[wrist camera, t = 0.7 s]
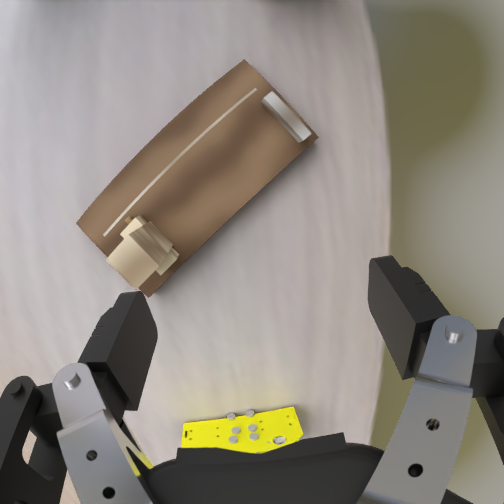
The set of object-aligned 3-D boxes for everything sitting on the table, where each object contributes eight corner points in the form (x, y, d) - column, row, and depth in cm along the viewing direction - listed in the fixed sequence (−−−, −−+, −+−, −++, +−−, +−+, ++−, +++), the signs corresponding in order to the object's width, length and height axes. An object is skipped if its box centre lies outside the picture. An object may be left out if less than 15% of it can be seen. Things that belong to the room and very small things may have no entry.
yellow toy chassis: (292, 400, 43) (305, 438, 35) (294, 426, 44) (307, 464, 36) (183, 417, 42) (179, 457, 33) (192, 442, 43) (190, 481, 35)
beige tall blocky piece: (119, 227, 33) (89, 242, 24) (137, 207, 33) (111, 216, 24) (162, 271, 34) (146, 300, 26) (181, 252, 34) (170, 276, 26)
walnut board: (82, 221, 34) (68, 225, 30) (242, 65, 32) (246, 52, 29) (151, 292, 37) (145, 304, 33) (313, 139, 35) (324, 135, 31)
